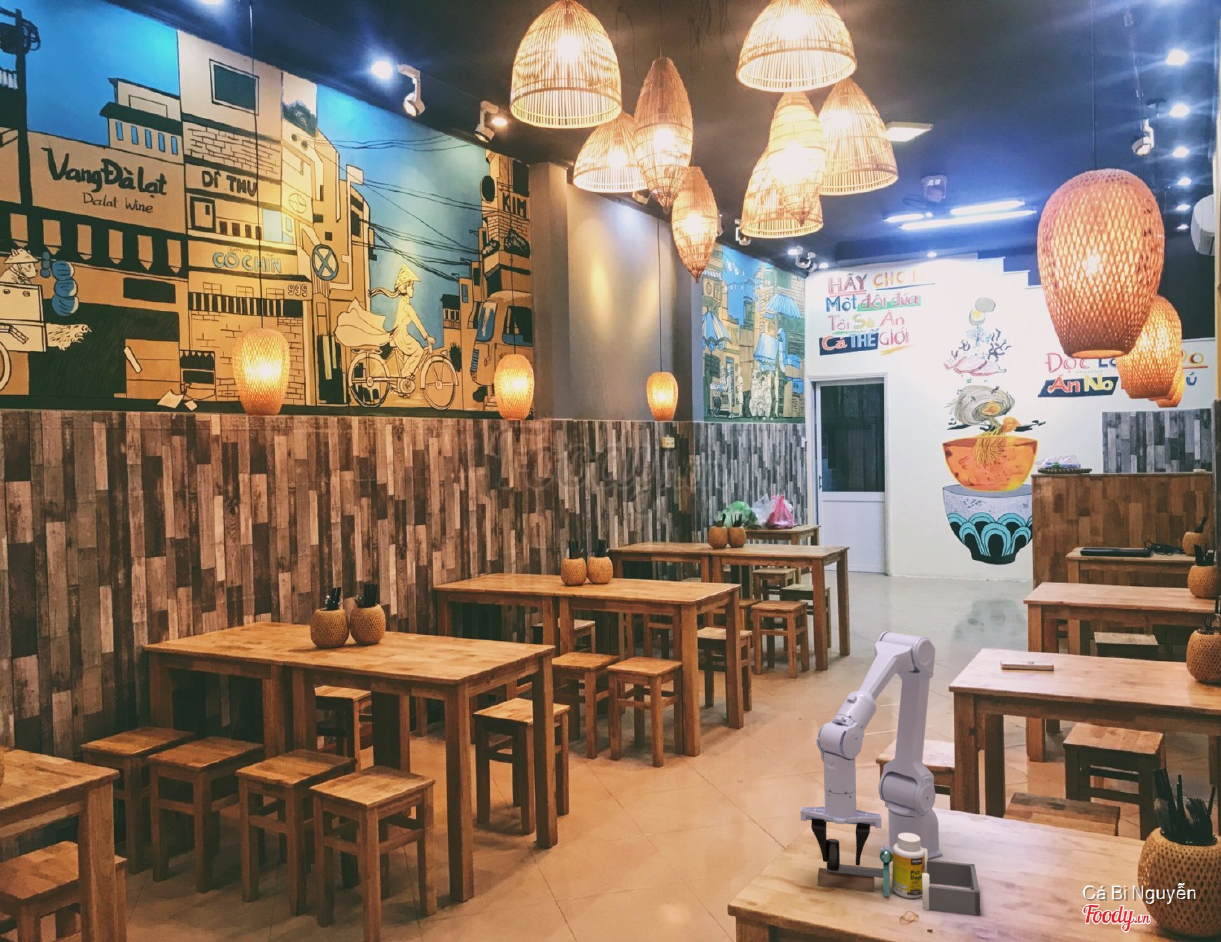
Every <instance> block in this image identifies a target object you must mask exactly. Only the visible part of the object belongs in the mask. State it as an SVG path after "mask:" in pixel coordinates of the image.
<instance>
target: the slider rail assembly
mask: <svg viewBox="0 0 1221 942" xmlns="http://www.w3.org/2000/svg"><path fill="white" fill-rule="evenodd" d="M826 839H827V838H826ZM826 851H827V862H826V869H827V872H832V873H841V874H850V875H859V876H868V877H874V878H878V879H879V878H880V879H882V881H883V882H882V883H883V884H882V885H883V887H882V888H883V890H882V891H883V896H884V897H890V891H891V890H890V889H891V888H890V886H891V879H890V878H891V876H890V875H891V873H890V871H891V870H890V869H891V868H890V863H891V862H893V855H892V853H891V852H890V851H889V850H886V849H884V850H882V851H880V852H879V856H878V857H879V860H880V862H882V863H883V865H882V867H883V868H878V867H870V866H861V865H860V866H857V865H851V864H841V857H840V856H841V854H840V853H841V852H840V841H839V839H836V838H828V839H827V840H826Z"/></svg>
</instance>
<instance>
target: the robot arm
mask: <svg viewBox="0 0 1221 942" xmlns="http://www.w3.org/2000/svg"><path fill="white" fill-rule="evenodd" d="M873 650H874V651H873V652H874V659H873V662H872V663H871V666H870V667H869V670H868V672H867V673H866V675H865V677H864V679H863V681H862V683H861V685H860V687H859V689H858V690H856V691H851V692H850V693H848V695H847V697H846V698H845V700H844V702H843V703H842V705H841V706H840V708H839V710H838V711H837V713H836V714H835V715H834V717H833V718H832V720H831V721H829V722H827V723H825V724H823V725H822V726H821V727H820V729H819V731H818V734H817V738H816V739H815V740H816V746H817V749H818V750H819V751H820V760H821V761H822V762H823V777H824V778H823V782H824V783H823V785H824V806H801V808H800V821H803V822H807V821H811V823H810V825H811V826H810V828H811V830H812V832H813V835H814V836H815V838H816V841H817V843H818V846H819V849H820V853H821V855H822V856H821V857H822V862H823V863H827V851H826V840H827V822H828V823H834V824H836V825H845V824H847V825H856V827H855V843H856V844H855V847H856V849H855V866H861V858H862V857H861V856H862V853H863V849H864V847H865V844H866V842H867V840H868V838H869V836H870V833H871V827H874V828H876V829H882V814H881V813H874V812H869V811H865V810H861V809H857V785H856V784H857V783H856V782H857V781H856V779H857V776H856V757H858V755H859V754H860V752H861V750H862V747H863V741H864V738H865V732H864V731H865V730H866V729H867V727H868V725H869V723H870V721H871V720H872V718H873V716H875V713H876V712H877V705H876V700H877V699H878V698H879V696H880V694H881V693H882V692H883V690H884V689H885V688H886V686H887V685H888V684H889V683H890V681H891V680H892V679H893V677H894V676H895V675H896V674H897V675H898V677H899V678H900V679H901V690H900V699H899V701H900V702H899V711H898V720H897V722H898V723H897V732H896V741H895V742H896V743H895V752H894V753H895V754H894V758H893V759H891V760H889V761H888V762H886V763H885V764H884V765H883V769H882V773H881V777H880V778H879V783H878V795H879V797H880V799H881V800H882V801H883V802H884V807H885V808H887V809H888V810H887V811H888V814H887V815H888V845H885V846H882V847H879V851H880V852H881V851H882V850H884V849H886V850H889V851H890V852H891V853H892V855H893V846H894V845H895V844H896V843H898V842H897V840H898V834H900V833H912V834H915V835H918V836H919V837H920V842H921V845H920V846H921V847H922V848H926V849H927V853H928V860H931V859H933V858H936V857H939V856H942V855H943V851H940V838H939V837H940V836H939V835H940V834H939V829H940V828H939V820H938V816H937V814H936V813H935V811H934V809H933V807H934V805H935V804H936V803H935V802H936V790H935V785H934V783H935V781H934V780H935V776H934V774H933V773H932V771H931V770H929V768H928V767H927V766H926V765H925V764H924V762H923V759H924V757H923V756H924V745H925V736H926V735H925V733H926V725H927V713H928V703H929V691H930V681H931V679H932V678H933V677H934V669H935V668H934V667H935V657H936V648H935V646H934V644H933V643H932V641H931V640H930V638H928V637H927V636H924V635H923V636H918V635H912V634H907V633H905V634H903V633H899V632H892V631H889V630H886V631H883V632H882V633H881V634H880V635H879V636H878V638H877V641H876V643H875V644H874V649H873Z"/></svg>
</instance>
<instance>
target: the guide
mask: <svg viewBox="0 0 1221 942" xmlns="http://www.w3.org/2000/svg"><path fill="white" fill-rule="evenodd" d="M817 886H818V887H823V888H825V887H826V888H833V889H843V890H849V889H853V890H852V891H858V890H859V891H860V892H866V893H867V892H868V893H874V892H875V877H868V876H859V875H850V874H841V873H832V872H827V867H826V868H824V867H819V868H818V871H817ZM854 889H855V890H854Z"/></svg>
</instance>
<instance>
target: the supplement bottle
mask: <svg viewBox="0 0 1221 942" xmlns="http://www.w3.org/2000/svg"><path fill="white" fill-rule="evenodd" d="M897 842H898V843H896V844H895V845H894V846H893V860H892V881H891V882H892V890H893V892H894V893H895V894H897V895H898V896H900V897H903V898H907V899H919V898H920V897H923V893H922V873H924V868H925V851H924V849H923V848H922V847H921V846H920V845H921V842H920V837H919V836H918V835H915V834H912V833H900V834H898V840H897Z"/></svg>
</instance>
